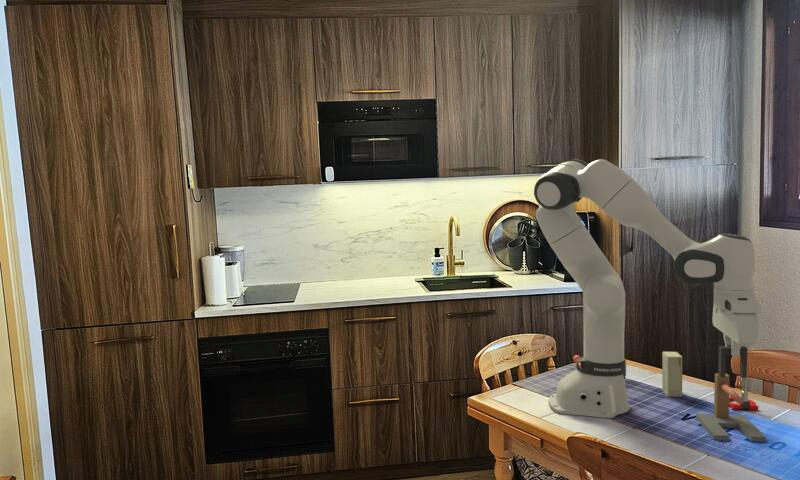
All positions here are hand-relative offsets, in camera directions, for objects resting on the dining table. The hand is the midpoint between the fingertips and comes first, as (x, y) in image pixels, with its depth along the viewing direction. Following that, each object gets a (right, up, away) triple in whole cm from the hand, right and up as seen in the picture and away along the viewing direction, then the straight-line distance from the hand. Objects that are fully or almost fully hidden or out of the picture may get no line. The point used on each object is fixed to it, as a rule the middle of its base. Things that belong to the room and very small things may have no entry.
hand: (732, 353), depth 152 cm
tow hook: (+14, -19, +22) cm, 32 cm away
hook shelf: (+2, -21, +5) cm, 21 cm away
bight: (0, -6, +1) cm, 6 cm away
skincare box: (-1, -18, +32) cm, 37 cm away
